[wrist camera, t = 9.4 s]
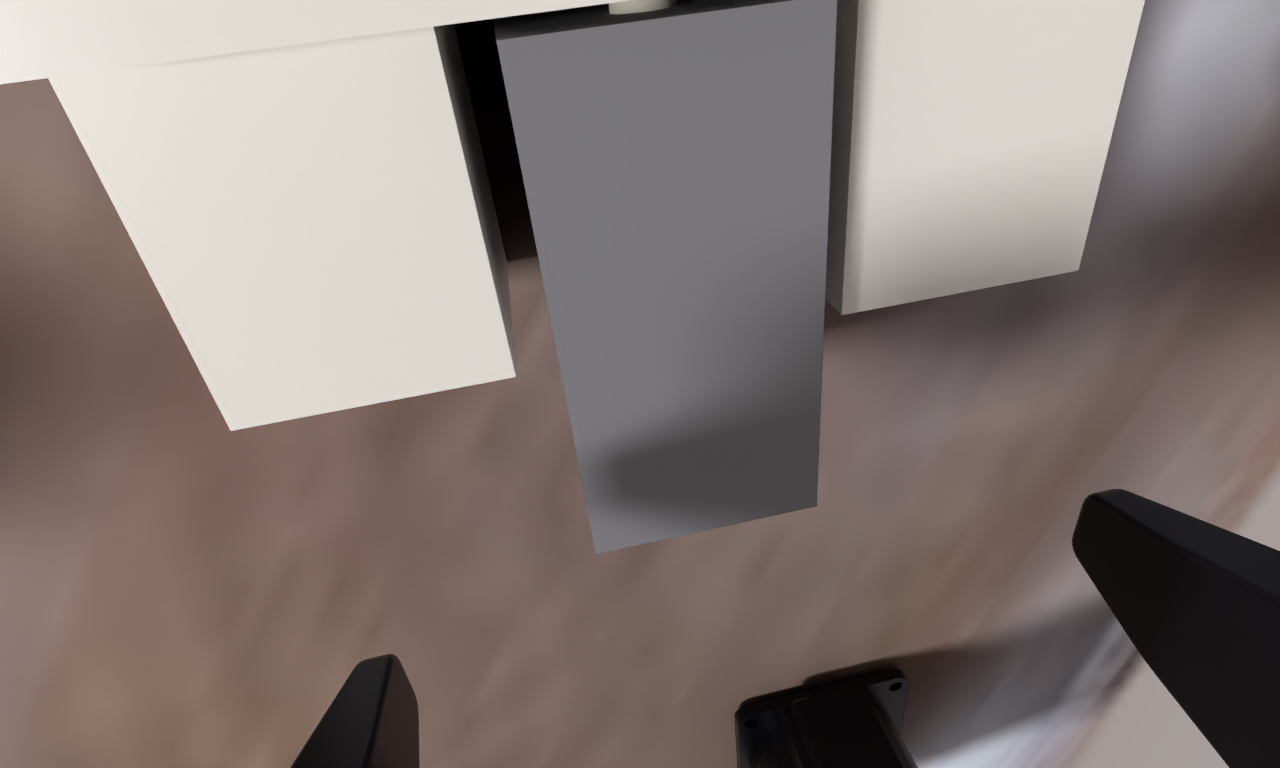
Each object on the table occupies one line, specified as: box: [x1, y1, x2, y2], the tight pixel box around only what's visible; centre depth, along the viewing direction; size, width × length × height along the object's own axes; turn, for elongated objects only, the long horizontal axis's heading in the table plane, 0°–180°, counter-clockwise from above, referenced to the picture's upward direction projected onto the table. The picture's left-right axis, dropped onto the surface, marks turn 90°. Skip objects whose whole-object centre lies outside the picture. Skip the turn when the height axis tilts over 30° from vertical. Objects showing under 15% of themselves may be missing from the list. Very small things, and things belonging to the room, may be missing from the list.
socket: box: [0, 0, 1145, 431], centre depth 10 cm, size 9×14×7 cm, turn 96°
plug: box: [493, 0, 837, 554], centre depth 12 cm, size 10×4×6 cm, turn 6°
